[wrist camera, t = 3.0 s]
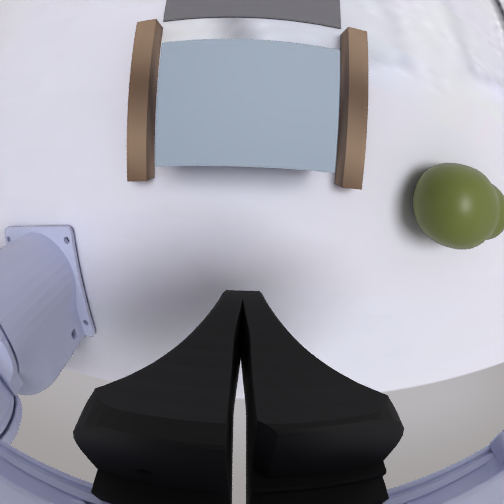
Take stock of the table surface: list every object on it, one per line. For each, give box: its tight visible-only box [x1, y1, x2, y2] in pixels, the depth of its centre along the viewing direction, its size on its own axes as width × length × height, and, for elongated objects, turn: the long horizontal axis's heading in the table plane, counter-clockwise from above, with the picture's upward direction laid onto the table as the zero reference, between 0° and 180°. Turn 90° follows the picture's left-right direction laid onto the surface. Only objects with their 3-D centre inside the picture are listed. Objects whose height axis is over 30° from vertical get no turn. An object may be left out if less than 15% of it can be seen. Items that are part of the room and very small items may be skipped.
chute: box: [127, 19, 368, 190], centre depth 14 cm, size 10×13×2 cm
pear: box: [413, 163, 504, 249], centre depth 15 cm, size 6×5×10 cm
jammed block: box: [156, 39, 340, 173], centre depth 13 cm, size 6×8×4 cm
